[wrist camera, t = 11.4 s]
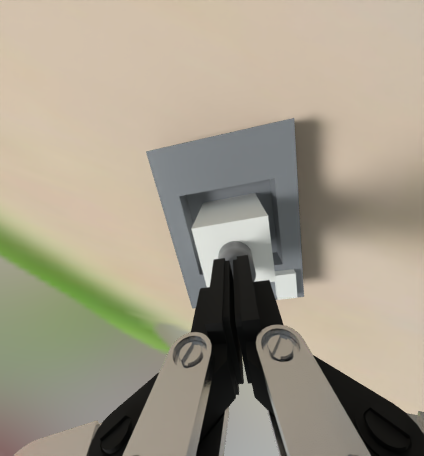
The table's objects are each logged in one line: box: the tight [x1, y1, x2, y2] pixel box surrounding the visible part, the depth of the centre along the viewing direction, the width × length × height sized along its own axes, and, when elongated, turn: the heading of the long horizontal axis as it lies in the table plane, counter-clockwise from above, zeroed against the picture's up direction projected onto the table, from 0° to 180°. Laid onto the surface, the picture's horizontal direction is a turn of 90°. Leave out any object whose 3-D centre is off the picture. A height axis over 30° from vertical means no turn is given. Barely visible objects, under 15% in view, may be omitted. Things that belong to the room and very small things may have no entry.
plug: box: [191, 193, 276, 287], centre depth 14 cm, size 4×4×8 cm
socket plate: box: [146, 118, 304, 308], centre depth 17 cm, size 10×14×3 cm
